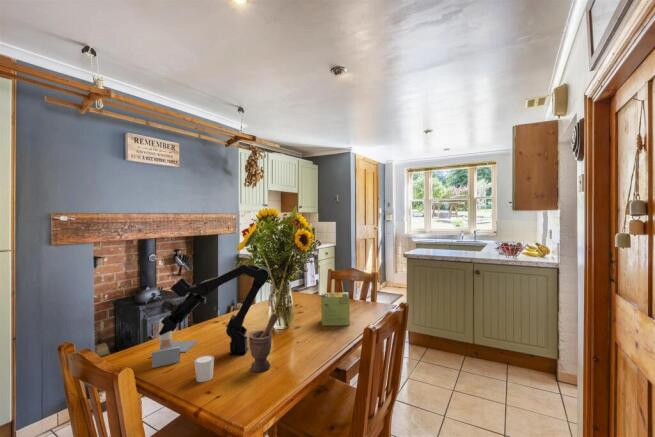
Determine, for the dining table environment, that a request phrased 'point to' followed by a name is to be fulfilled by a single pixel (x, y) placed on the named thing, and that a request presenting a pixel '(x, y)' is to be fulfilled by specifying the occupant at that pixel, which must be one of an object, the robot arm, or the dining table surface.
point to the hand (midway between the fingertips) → (161, 332)
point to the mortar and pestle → (262, 346)
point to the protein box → (335, 308)
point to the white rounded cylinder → (165, 338)
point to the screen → (165, 357)
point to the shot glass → (204, 368)
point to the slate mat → (183, 345)
